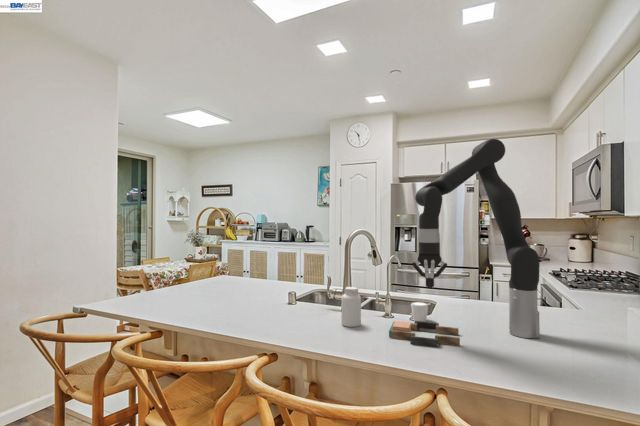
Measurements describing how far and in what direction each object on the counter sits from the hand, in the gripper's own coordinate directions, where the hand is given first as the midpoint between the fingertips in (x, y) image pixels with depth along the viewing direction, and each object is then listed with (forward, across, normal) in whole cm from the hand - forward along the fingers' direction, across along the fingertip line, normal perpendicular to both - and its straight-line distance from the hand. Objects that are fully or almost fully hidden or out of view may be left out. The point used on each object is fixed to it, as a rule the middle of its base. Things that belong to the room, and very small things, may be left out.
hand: (429, 288), depth 127 cm
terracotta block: (+18, +10, 0) cm, 21 cm away
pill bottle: (+18, +31, -5) cm, 36 cm away
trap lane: (+18, +2, 0) cm, 18 cm away
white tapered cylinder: (+18, +5, -21) cm, 28 cm away
